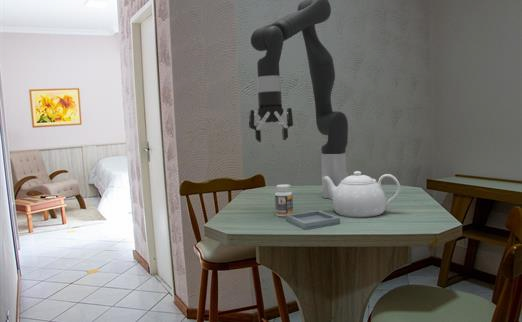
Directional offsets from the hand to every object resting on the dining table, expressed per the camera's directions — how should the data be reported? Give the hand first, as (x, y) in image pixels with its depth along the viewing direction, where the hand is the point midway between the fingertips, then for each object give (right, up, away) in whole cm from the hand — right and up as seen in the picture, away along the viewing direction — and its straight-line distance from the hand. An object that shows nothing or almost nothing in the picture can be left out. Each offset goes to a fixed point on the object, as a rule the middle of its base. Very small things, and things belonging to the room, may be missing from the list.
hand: (271, 140), depth 139 cm
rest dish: (+12, -25, -10) cm, 30 cm away
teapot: (+29, -24, +1) cm, 38 cm away
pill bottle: (+4, -25, +1) cm, 25 cm away
